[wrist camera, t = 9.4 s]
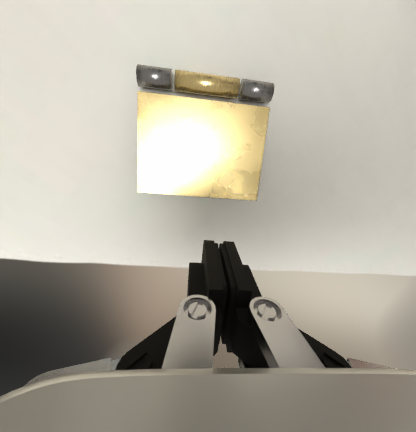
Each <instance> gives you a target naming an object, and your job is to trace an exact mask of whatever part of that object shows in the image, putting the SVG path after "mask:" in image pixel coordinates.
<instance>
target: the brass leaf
mask: <svg viewBox="0 0 416 432" xmlns="http://www.w3.org/2000/svg"><path fill="white" fill-rule="evenodd" d="M239 86H240V79H239V78H233V77H225V76H218V75H211V74H204V73H196V72H189V71H182V70H175V91H179V92H187V93H195V94H203V95H211V96H219V97H226V98H234V99H236V98H237V96H238V92H239ZM269 109H270V108H269V107H261V106H253V105H245V104H237V103H229V102H221V101H213V100H205V99H197V98H189V97H181V96H173V95H165V94H157V93H149V92H141V91H138V138H137V192H141V193H156V194H170V195H184V196H199V197H213V198H227V199H242V200H256V201H257V194H258V187H259V180H260V173H261V166H262V159H263V152H264V145H265V138H266V131H267V123H268V116H269Z"/></svg>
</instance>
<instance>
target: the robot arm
mask: <svg viewBox="0 0 416 432" xmlns="http://www.w3.org/2000/svg"><path fill="white" fill-rule="evenodd" d="M220 336H221V340H222V343H223V344H226V347H227V352H233V353H234V354H235V355H236V356H238V363H239V368H212V365H213V356H214V355H215V354H216V353H217V351H218V345H219V341H220ZM0 432H416V370H407V369H406V370H405V369H395V368H390V367H386V366H382V365H377V364H373V363H368V362H364V361H360V360H355V359H351V358H348V359H347V361H346V360H345V359H344V358H343V357H342V356H340V355H339V354H338V353H336V352H335V351H333V350H332V349H330V348H328V347H327V346H325V345H324V344H322V343H320V342H319V341H317V340H316V339H314V338H312V337H311V336H309V335H308V334H306V333H304V332H302V331H301V330H300V329H298V328H297V327H296V326H295V324H294V323H293V321H292V320H291V319H290V317H289V316H288V314H287V313H286V311H285V310H284V308H283V307H282V306H281V305H280V304H279V303H278V302H276V301H275V300H273V299H270V298H267V297H262V296H261V294H260V291H259V289H258V287H257V284H256V282H255V280H254V277H253V275H252V272H251V270H250V268H249V266H248V265H242V262H241V259H240V257H239V254H238V252H237V249H236V246H235V244H234V242H228V241H224V242H223V244H220V246H219V248H218V244H217V243H214V241H210V240H204V244H203V254H202V263H189V277H188V295H187V297H186V298H185V299H184V300H183V301H182V302H181V304H180V306H179V309H178V313H177V316H176V317H174V318H173V319H172V320H170V321H169V322H168V323H166V324H165V325H164V326H162V327H161V328H159V329H158V330H157V331H155V332H154V333H153V334H152V335H150V336H148V337H147V338H146V339H144V340H143V341H142V342H140V343H139V344H138V345H136V346H135V347H133V348H132V349H131V350H130V351H128V352H127V353H126V354H125V355H124V356H123V357H122V358H121V359H118V360H114V361H112V359H111V358H108V359H103V360H99V361H94V362H89V363H85V364H80V365H76V366H71V367H67V368H62V369H58V370H53V371H49V372H46V373H43V374H41V375H39V376H37V377H35V378H34V379H32V380H31V381H29V382H28V383H27V384H26V385H25V386H24V387H22V388H20V389H17V390H15V391H12V392H10V393H8V394H5V395H3V396H1V397H0Z"/></svg>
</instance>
